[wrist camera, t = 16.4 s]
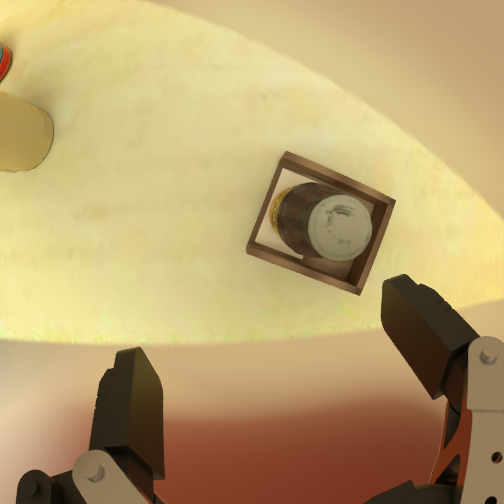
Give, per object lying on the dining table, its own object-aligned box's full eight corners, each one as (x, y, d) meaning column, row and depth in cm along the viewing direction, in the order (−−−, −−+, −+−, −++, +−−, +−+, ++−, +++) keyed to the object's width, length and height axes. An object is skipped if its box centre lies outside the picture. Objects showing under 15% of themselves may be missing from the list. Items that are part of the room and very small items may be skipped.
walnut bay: (246, 248, 39) (246, 253, 34) (280, 158, 38) (286, 150, 33) (346, 286, 40) (359, 295, 35) (379, 201, 39) (396, 200, 34)
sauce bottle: (289, 177, 37) (336, 142, 18) (330, 210, 38) (412, 210, 18) (255, 222, 38) (268, 232, 18) (297, 254, 38) (351, 296, 19)
